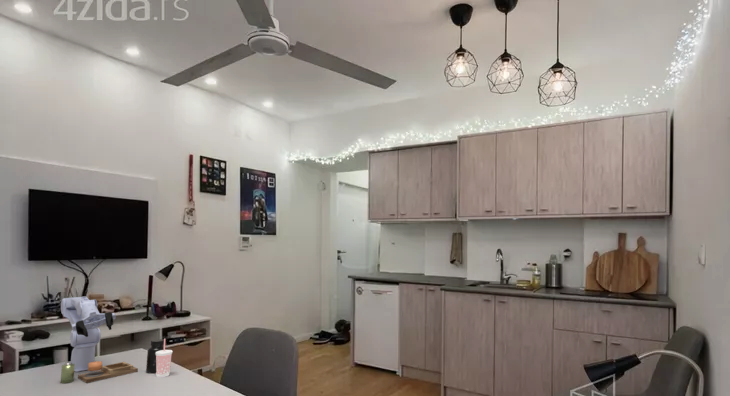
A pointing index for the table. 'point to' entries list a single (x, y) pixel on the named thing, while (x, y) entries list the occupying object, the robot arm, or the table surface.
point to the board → (108, 372)
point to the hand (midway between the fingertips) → (98, 330)
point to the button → (95, 366)
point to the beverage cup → (163, 362)
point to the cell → (67, 373)
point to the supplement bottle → (153, 354)
